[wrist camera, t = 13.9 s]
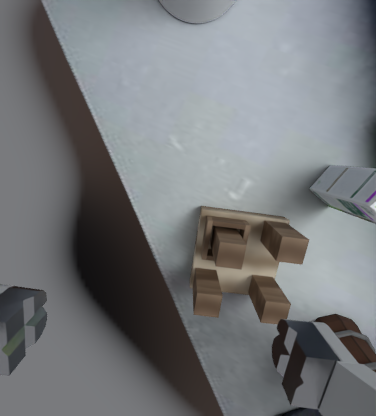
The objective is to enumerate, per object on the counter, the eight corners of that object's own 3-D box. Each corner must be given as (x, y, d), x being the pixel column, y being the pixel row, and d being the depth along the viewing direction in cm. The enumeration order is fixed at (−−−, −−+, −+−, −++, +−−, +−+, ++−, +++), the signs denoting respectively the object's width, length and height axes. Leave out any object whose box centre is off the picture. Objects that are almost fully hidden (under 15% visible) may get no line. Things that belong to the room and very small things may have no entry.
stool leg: (214, 224, 41) (220, 242, 34) (235, 227, 42) (246, 245, 34) (210, 245, 42) (215, 266, 35) (231, 247, 43) (241, 269, 35)
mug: (343, 304, 48) (409, 371, 34) (364, 344, 51) (435, 421, 36) (277, 338, 51) (312, 413, 36) (301, 374, 53) (343, 458, 39)
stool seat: (201, 205, 43) (205, 223, 33) (284, 216, 44) (313, 237, 33) (189, 280, 47) (190, 316, 37) (265, 289, 48) (287, 328, 37)
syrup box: (307, 189, 42) (367, 208, 28) (330, 163, 41) (405, 170, 27) (329, 207, 43) (397, 234, 29) (352, 182, 42) (435, 198, 28)
